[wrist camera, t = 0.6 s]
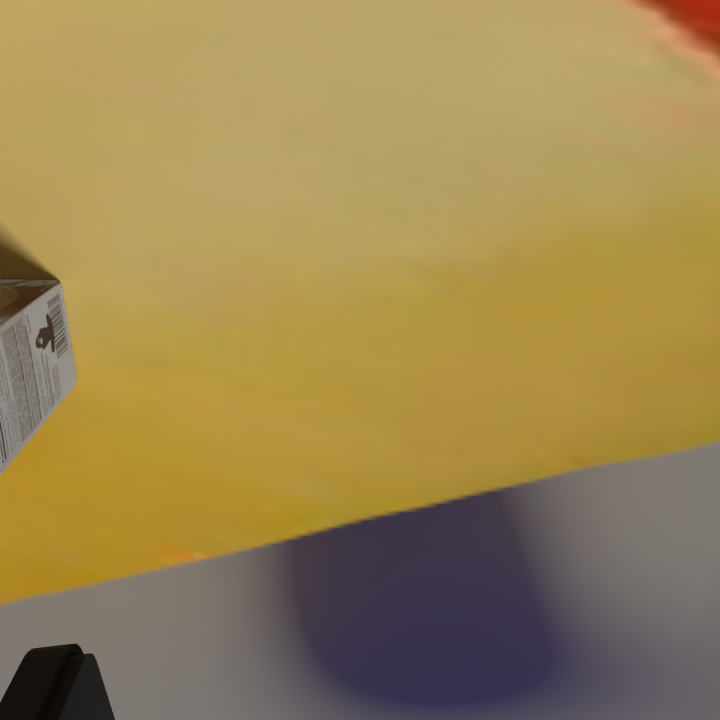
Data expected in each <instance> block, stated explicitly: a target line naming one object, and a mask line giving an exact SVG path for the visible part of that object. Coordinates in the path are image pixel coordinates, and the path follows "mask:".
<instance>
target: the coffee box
mask: <svg viewBox="0 0 720 720" xmlns="http://www.w3.org/2000/svg"><path fill="white" fill-rule="evenodd" d="M75 384H76V373H75V367H74V361H73V355H72V349H71V343H70V337H69V330H68V323H67V317H66V311H65V305H64V299H63V293H62V287H61V283H60V282H59V281H57V280H33V279H0V475H1V474H2V473H3V471H4V470H5V469H6V468H7V467H8V465H9V464H10V463H11V462H12V460H13V459H14V458H15V457H16V456H17V454H18V453H19V452H20V451H21V450H22V448H23V447H24V446H25V445H26V443H27V442H28V441H29V440H30V439H31V437H32V436H33V435H34V434H35V433H36V431H37V430H38V429H39V428H40V427H41V425H42V424H43V423H44V422H45V420H46V419H47V418H48V417H49V416H50V414H51V413H52V412H53V411H54V410H55V408H56V407H57V406H58V405H59V403H60V402H61V401H62V400H63V399H64V397H65V396H66V395H67V394H68V393H69V392H70V390H71V389H72V388H73V387H74V386H75Z"/></svg>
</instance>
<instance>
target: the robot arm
mask: <svg viewBox="0 0 720 720" xmlns="http://www.w3.org/2000/svg"><path fill="white" fill-rule="evenodd" d="M0 720H115V718H114V715H113V712H112V709H111V705H110V703H109V699H108V696H107V693H106V690H105V686H104V683H103V680H102V677H101V674H100V671H99V667H98V664H97V661H96V659H95V657H94V655H93V654H83V652H82V649H81V648H80V647H79V645H77V644H68V645H59V646H50V647H42V648H34V649H31V650H30V651H28V653H27V654H26V655H25V657H24V658H23V660H22V662H21V664H20V666H19V668H18V670H17V671H16V673H15V675H14V677H13V679H12V681H11V683H10V685H9V687H8V689H7V691H6V692H5V694H4V696H3V698H2V701H1V702H0Z"/></svg>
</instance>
